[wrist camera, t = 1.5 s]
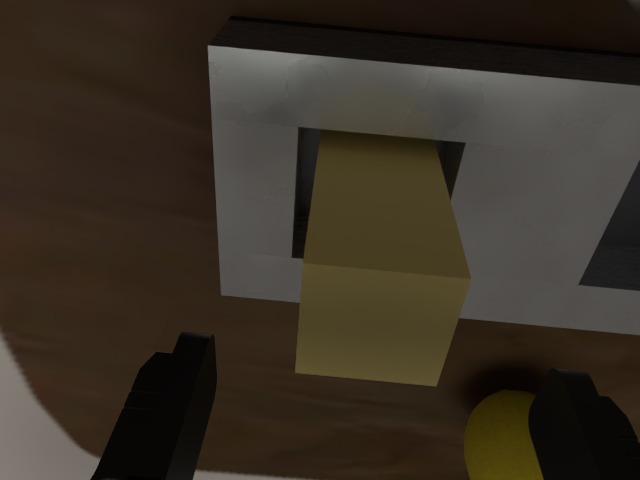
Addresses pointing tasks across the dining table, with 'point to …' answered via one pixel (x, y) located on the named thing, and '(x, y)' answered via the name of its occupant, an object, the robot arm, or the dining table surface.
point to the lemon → (501, 439)
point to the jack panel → (454, 154)
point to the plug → (379, 262)
